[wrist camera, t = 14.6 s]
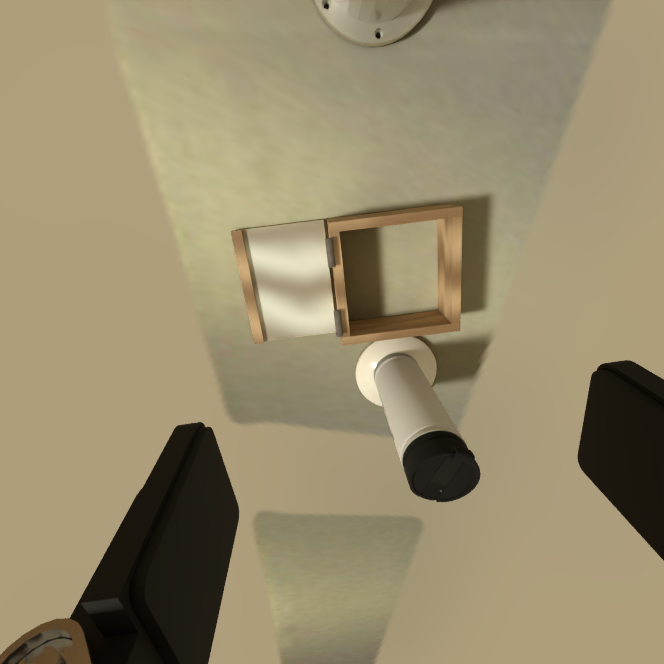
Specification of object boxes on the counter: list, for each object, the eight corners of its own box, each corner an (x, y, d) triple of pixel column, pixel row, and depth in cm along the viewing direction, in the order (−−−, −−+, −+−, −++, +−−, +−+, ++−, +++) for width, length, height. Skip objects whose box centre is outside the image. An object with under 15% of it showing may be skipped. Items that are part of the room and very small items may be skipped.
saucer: (351, 338, 48) (352, 341, 48) (434, 328, 48) (436, 330, 48) (359, 408, 52) (359, 412, 52) (435, 399, 52) (436, 402, 52)
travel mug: (428, 358, 49) (499, 463, 31) (406, 398, 51) (460, 519, 33) (386, 343, 48) (434, 443, 29) (365, 384, 50) (398, 501, 32)
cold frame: (232, 230, 42) (221, 237, 37) (446, 204, 43) (465, 206, 37) (255, 340, 48) (248, 360, 42) (445, 316, 48) (462, 333, 42)
